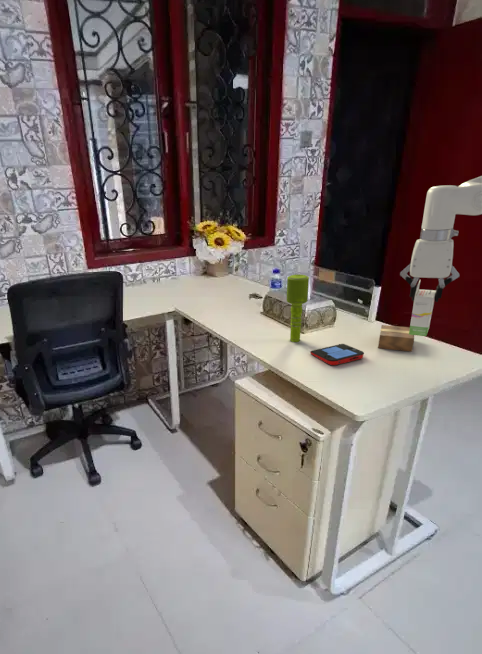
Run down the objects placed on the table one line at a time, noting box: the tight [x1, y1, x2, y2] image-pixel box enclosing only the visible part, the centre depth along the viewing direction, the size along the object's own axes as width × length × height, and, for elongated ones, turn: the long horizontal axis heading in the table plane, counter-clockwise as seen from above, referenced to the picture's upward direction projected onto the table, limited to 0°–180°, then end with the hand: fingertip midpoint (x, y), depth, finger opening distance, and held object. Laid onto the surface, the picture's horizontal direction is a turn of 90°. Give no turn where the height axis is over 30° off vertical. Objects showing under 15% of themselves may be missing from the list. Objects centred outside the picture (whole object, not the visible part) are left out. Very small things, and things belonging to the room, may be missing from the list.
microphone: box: [286, 274, 310, 343], centre depth 154 cm, size 8×8×25 cm
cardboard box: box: [377, 324, 415, 353], centre depth 150 cm, size 11×11×5 cm
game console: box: [309, 343, 365, 366], centre depth 144 cm, size 14×13×2 cm
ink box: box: [409, 279, 436, 337], centre depth 122 cm, size 9×5×15 cm, turn 149°
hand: (424, 299), depth 121 cm, fingers closed on ink box, 5 cm apart
